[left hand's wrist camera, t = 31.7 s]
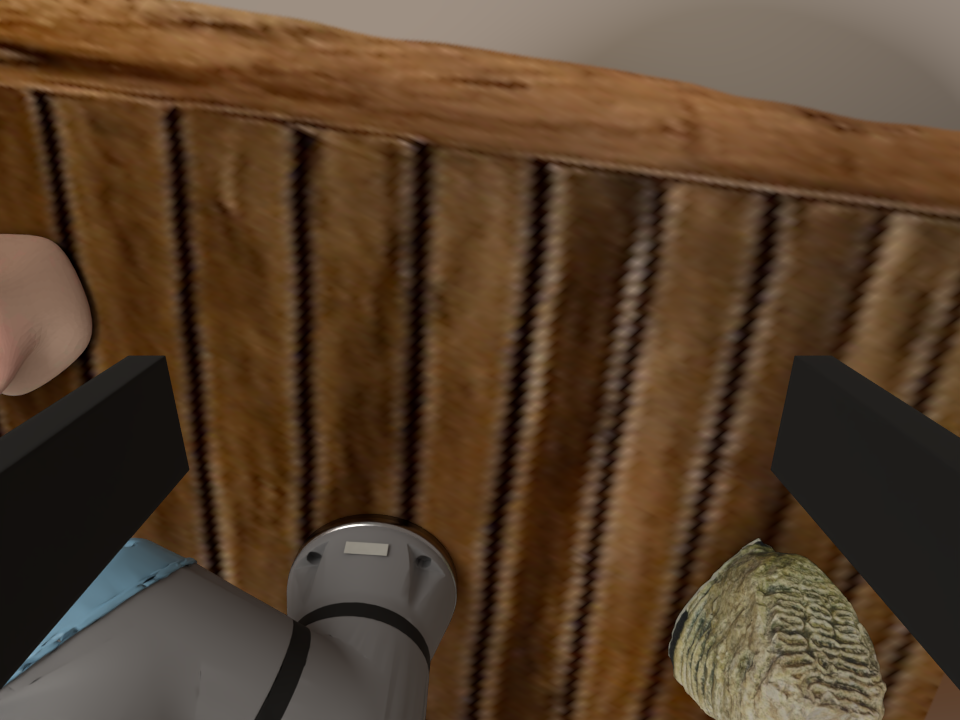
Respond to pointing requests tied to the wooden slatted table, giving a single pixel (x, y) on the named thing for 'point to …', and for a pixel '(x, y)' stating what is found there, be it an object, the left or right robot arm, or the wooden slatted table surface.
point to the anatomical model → (38, 313)
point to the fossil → (775, 644)
